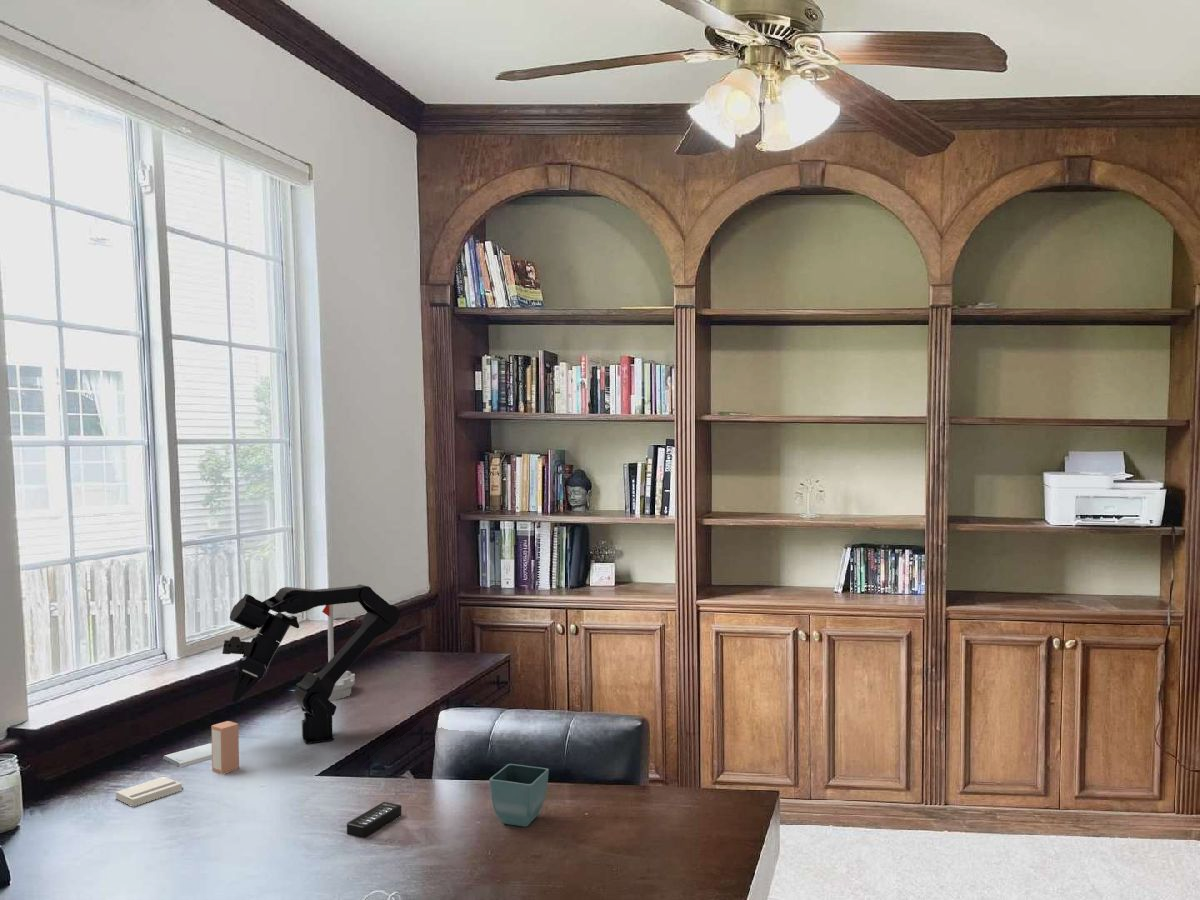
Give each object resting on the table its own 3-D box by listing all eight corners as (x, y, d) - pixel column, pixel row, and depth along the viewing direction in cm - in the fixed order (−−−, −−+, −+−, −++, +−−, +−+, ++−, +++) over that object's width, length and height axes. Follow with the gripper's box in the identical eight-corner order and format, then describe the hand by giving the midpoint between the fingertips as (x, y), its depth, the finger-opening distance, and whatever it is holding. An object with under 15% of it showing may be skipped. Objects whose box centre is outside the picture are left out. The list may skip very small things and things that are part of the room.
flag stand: (320, 687, 262) (318, 586, 261) (362, 689, 260) (360, 586, 260) (299, 700, 249) (297, 594, 248) (343, 702, 247) (341, 594, 247)
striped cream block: (167, 782, 189) (166, 775, 189) (184, 789, 185) (184, 782, 185) (115, 799, 181) (115, 791, 181) (133, 807, 177) (132, 799, 177)
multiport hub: (345, 835, 163) (345, 823, 163) (384, 813, 173) (384, 801, 173) (364, 840, 161) (364, 827, 161) (402, 816, 171) (402, 805, 171)
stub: (228, 765, 199) (228, 720, 199) (239, 768, 197) (238, 723, 197) (211, 770, 196) (211, 725, 196) (222, 774, 194) (221, 728, 194)
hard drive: (179, 763, 198) (233, 747, 207) (163, 755, 203) (216, 740, 213) (179, 770, 198) (233, 754, 208) (163, 762, 203) (216, 747, 213)
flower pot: (550, 814, 171) (549, 767, 171) (532, 833, 163) (531, 784, 162) (509, 808, 174) (508, 762, 174) (488, 827, 165) (488, 779, 165)
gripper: (239, 624, 216) (204, 685, 211) (234, 622, 199) (196, 688, 193) (282, 643, 218) (248, 704, 213) (280, 643, 201) (244, 709, 196)
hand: (234, 701), depth 204 cm, fingers open, 9 cm apart
